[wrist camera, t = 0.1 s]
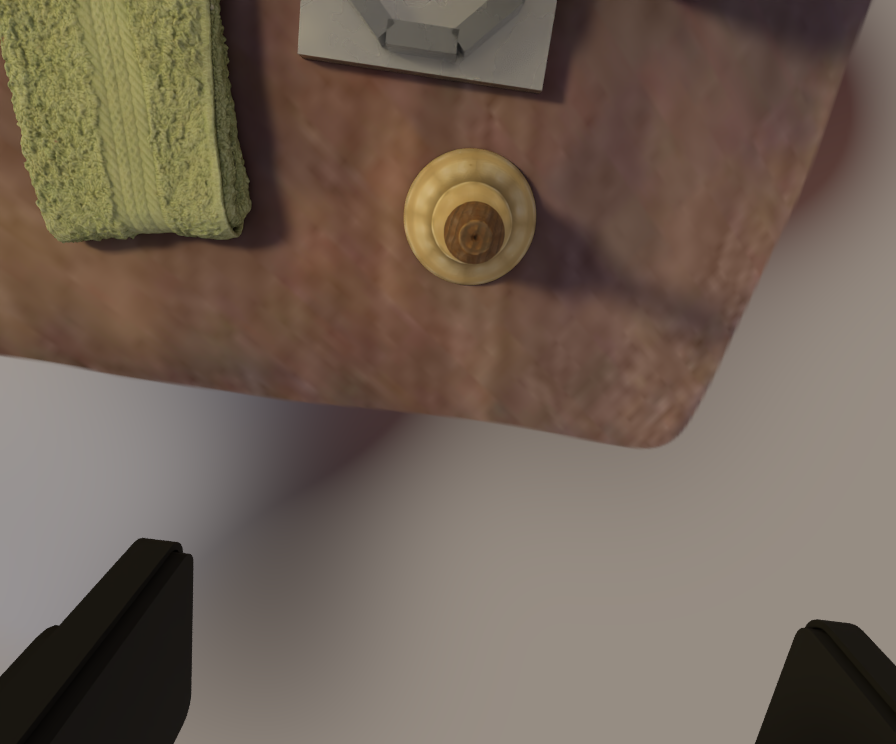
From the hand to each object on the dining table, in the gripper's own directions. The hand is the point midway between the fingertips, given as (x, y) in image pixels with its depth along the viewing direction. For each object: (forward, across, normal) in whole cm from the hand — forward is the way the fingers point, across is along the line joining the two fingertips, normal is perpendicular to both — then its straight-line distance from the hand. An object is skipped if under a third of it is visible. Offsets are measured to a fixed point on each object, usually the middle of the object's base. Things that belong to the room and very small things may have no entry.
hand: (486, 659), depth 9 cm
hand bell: (+31, 0, -5) cm, 32 cm away
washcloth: (+32, +21, -10) cm, 39 cm away
